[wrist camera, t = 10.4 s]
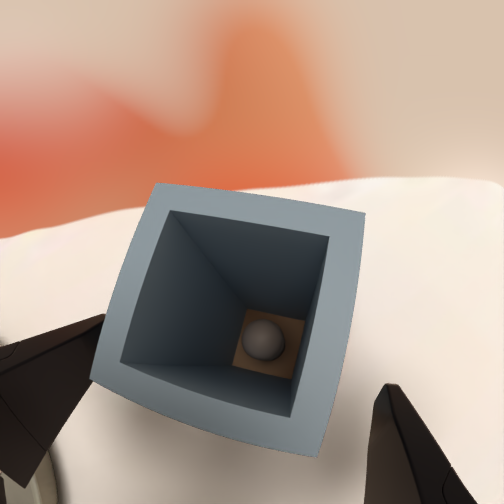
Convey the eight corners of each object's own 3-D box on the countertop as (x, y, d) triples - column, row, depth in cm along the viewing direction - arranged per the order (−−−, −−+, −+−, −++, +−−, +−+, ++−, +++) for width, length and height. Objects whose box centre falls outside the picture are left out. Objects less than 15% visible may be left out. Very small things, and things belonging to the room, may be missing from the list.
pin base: (285, 440, 15) (281, 469, 10) (173, 357, 18) (133, 352, 13) (367, 323, 17) (395, 308, 12) (253, 251, 20) (240, 212, 15)
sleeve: (300, 392, 15) (316, 457, 4) (218, 372, 16) (88, 378, 5) (318, 311, 17) (365, 212, 6) (239, 295, 18) (156, 182, 7)
